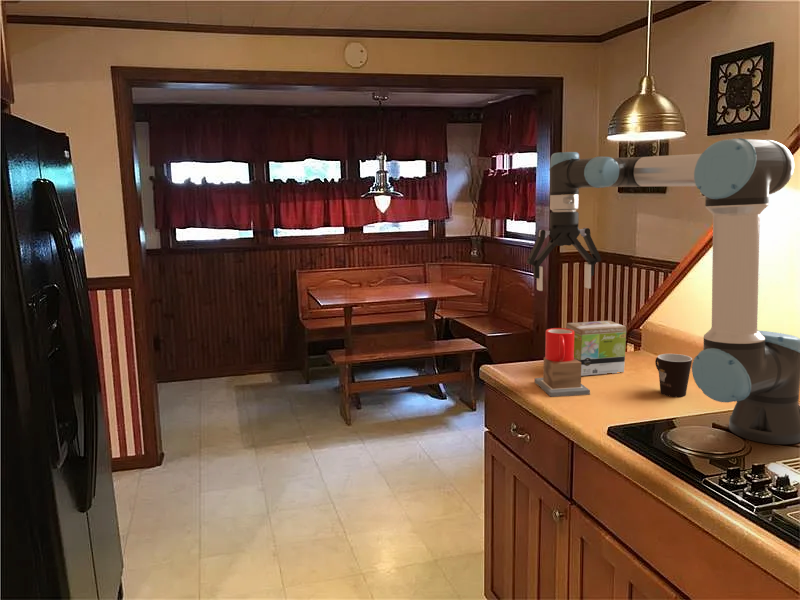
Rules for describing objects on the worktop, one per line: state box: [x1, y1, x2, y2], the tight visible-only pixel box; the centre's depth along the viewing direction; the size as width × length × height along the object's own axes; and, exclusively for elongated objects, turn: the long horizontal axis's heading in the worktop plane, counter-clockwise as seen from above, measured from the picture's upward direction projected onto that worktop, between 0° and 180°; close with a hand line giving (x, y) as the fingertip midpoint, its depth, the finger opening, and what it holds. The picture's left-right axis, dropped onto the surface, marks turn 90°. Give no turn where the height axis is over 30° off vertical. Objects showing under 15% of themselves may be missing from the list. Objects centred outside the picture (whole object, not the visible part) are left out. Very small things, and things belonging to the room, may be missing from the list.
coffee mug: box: [654, 353, 693, 398], centre depth 180 cm, size 12×9×10 cm
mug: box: [544, 327, 574, 362], centre depth 184 cm, size 8×12×8 cm, turn 174°
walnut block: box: [542, 356, 582, 389], centre depth 186 cm, size 8×8×7 cm
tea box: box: [566, 320, 627, 377], centre depth 202 cm, size 15×10×15 cm
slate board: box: [534, 377, 591, 398], centre depth 186 cm, size 14×11×1 cm
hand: (563, 289), depth 182 cm, fingers open, 13 cm apart
